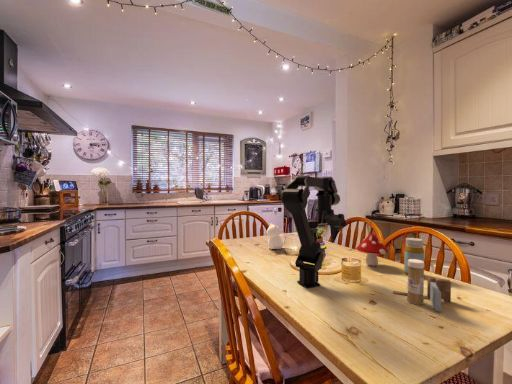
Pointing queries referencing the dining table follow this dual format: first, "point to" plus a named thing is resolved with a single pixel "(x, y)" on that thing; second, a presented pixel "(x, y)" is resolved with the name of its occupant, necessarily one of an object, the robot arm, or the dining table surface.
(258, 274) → the dining table surface
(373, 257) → the decorative mushroom
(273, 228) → the cat figurine
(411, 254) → the bottle
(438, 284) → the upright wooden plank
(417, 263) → the sprinkles bottle
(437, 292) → the door
